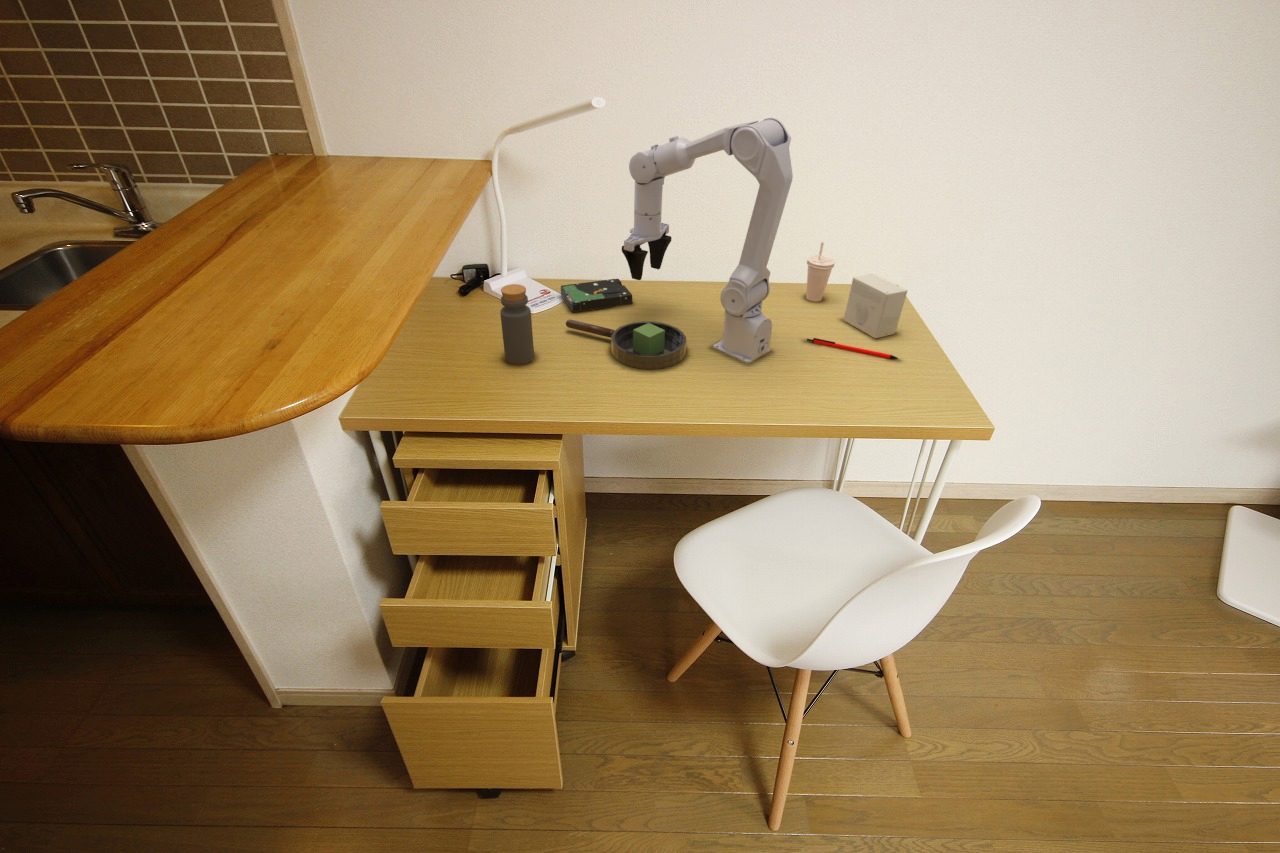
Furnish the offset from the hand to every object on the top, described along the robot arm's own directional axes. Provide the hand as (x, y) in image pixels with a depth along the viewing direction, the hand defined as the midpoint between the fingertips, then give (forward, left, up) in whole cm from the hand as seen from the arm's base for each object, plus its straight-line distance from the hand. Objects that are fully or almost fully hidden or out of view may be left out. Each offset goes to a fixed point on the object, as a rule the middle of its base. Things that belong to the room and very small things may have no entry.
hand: (646, 273), depth 145 cm
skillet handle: (0, +16, -9) cm, 19 cm away
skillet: (-12, +12, -10) cm, 20 cm away
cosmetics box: (-38, -33, -10) cm, 52 cm away
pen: (-41, -20, -10) cm, 47 cm away
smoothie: (-22, -37, -10) cm, 44 cm away
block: (-12, +12, -10) cm, 20 cm away
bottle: (+4, +33, -10) cm, 35 cm away
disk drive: (+14, +3, -10) cm, 17 cm away
